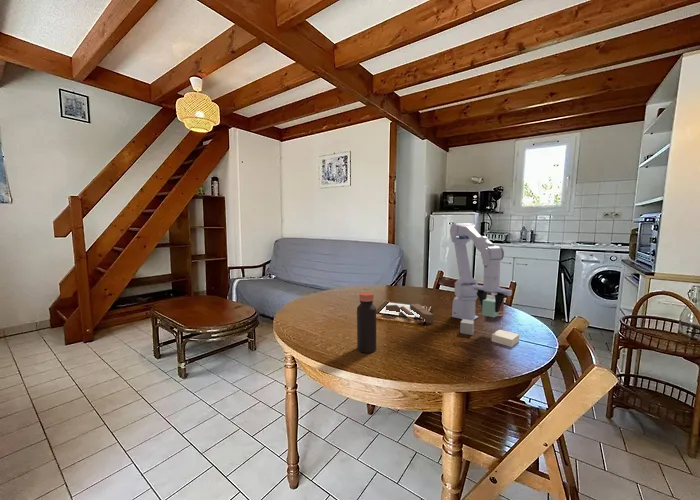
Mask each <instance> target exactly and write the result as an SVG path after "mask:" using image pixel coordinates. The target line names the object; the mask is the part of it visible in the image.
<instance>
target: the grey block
mask: <svg viewBox="0 0 700 500" xmlns="http://www.w3.org/2000/svg"><path fill="white" fill-rule="evenodd" d="M459 327H460V328H459V331H460V334H463V335H471V336H472V335H474V332H475V320H473V321H472V320H466V319H461V321H460V325H459Z"/></svg>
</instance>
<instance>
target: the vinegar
mask: <svg viewBox="0 0 700 500" xmlns="http://www.w3.org/2000/svg"><path fill="white" fill-rule="evenodd" d="M374 296H375V295H374V293H373V292H367V291H364V292H360V293H359V302H360V304H358V305H357V307H356V337H357V338H356V342H357V343H356V348H357V351H358V352H360V351H361V352H360V353H362V352H365V353H364V354H372V353H374V352H376V351H377V307H376V306H375V305H374V298H375V297H374ZM371 352H372V353H371Z"/></svg>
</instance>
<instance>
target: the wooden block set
mask: <svg viewBox="0 0 700 500" xmlns="http://www.w3.org/2000/svg"><path fill="white" fill-rule="evenodd" d="M400 309H401V310H402V311H404V312H405V313H406V314H408V315H414V314H413V313H412V312H410V309H411V310H413V311H414V312H416V313H417V314H419V315H420V316H421V317H422V318H423V319H425V322H426V323H425V324H434V321H435V320H434V319H435V317H434V316H435V315H434V314H433V313H431V311H429V310H427V308H426V307H424V306H423V305H421V304H419V303H411V304H409V309H408V308H406V307H405V306H404V305H402V306H399V305H398V304H386V305H385V311H386V310H389V311H396V312H400ZM400 313H401V312H400Z"/></svg>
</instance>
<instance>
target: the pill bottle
mask: <svg viewBox="0 0 700 500" xmlns="http://www.w3.org/2000/svg"><path fill="white" fill-rule="evenodd" d="M496 294H497V293H490V296H489V297H488V298H490V299H495V295H496ZM504 305H505V299H504V300H503V301H502V304H501V306H500V310H499V312H498V315H497V316H496V317H503V316H504V307H505V306H504Z"/></svg>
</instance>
